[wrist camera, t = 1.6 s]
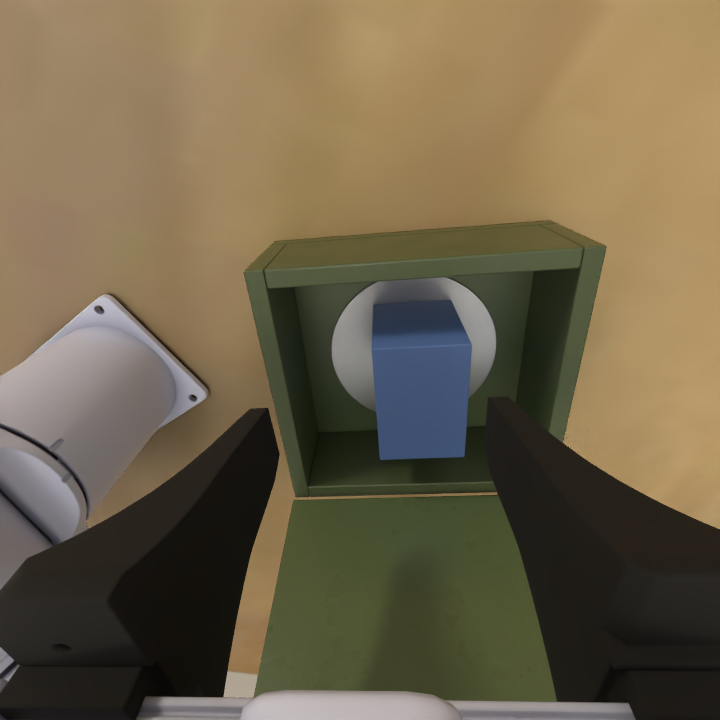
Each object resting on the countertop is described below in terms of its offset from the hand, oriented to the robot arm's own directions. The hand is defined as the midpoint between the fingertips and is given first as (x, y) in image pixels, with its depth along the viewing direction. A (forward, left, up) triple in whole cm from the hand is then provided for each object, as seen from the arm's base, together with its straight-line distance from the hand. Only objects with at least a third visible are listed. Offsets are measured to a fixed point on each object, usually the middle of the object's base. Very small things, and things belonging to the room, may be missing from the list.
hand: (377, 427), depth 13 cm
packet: (+1, -3, -9) cm, 9 cm away
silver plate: (+1, -3, -10) cm, 10 cm away
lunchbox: (+1, -3, -10) cm, 10 cm away
